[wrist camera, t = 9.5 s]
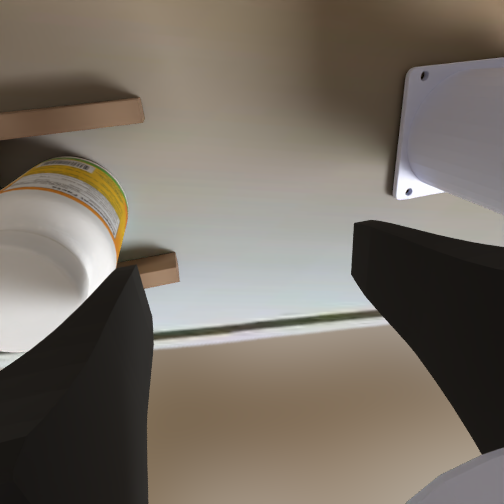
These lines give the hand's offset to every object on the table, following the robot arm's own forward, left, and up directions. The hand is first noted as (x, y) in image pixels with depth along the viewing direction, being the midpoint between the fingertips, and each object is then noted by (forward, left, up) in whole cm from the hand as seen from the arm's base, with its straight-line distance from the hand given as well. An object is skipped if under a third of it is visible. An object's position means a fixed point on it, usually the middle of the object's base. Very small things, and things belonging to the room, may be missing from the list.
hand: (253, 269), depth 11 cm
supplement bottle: (+8, 0, -11) cm, 13 cm away
